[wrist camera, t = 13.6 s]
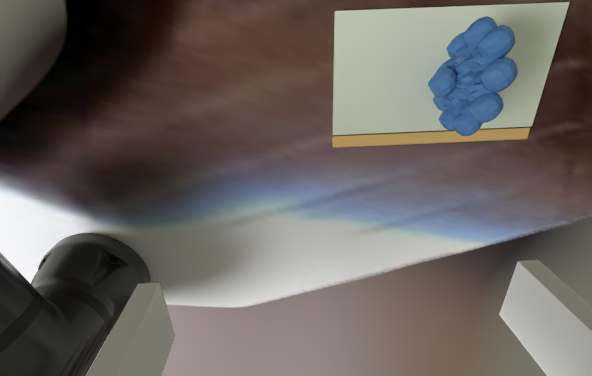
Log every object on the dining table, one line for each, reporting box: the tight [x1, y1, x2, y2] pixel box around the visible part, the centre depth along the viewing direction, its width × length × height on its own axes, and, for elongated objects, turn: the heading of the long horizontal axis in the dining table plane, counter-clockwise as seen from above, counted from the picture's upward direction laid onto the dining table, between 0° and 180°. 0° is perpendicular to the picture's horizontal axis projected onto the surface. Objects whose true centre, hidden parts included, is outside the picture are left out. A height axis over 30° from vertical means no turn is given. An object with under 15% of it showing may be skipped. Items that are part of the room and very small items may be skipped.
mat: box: [333, 2, 570, 135], centre depth 38 cm, size 26×14×1 cm, turn 92°
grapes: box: [428, 16, 518, 136], centre depth 32 cm, size 12×7×12 cm, turn 3°
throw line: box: [332, 127, 530, 147], centre depth 42 cm, size 26×2×1 cm, turn 92°
